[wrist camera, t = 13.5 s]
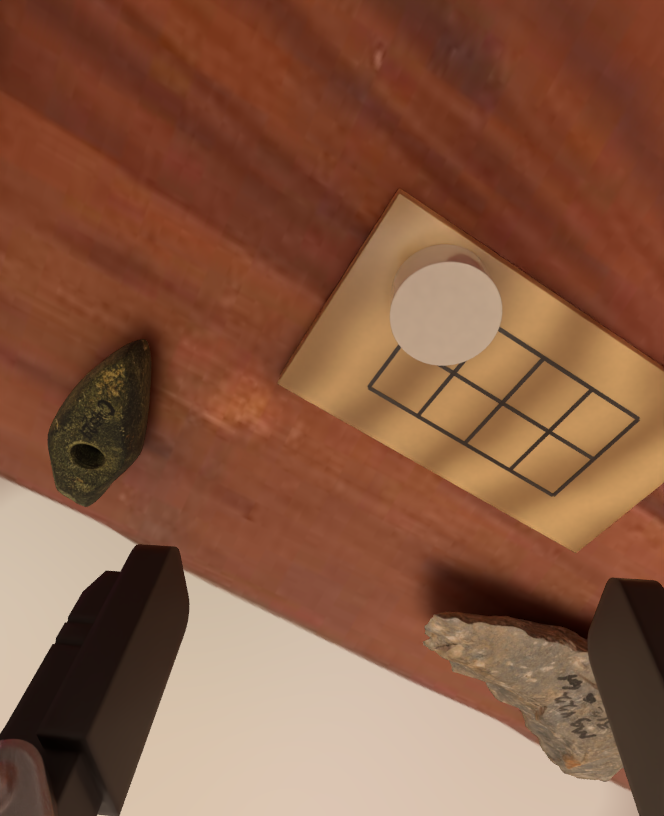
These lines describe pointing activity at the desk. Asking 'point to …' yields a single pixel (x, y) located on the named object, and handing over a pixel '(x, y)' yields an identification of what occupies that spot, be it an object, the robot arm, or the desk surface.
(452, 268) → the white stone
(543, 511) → the game board
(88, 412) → the decorative stone
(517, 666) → the stone tool
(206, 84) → the desk surface
